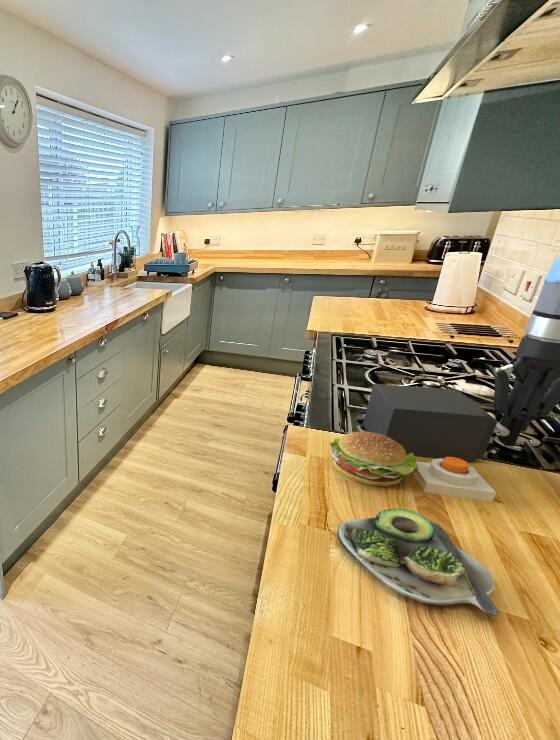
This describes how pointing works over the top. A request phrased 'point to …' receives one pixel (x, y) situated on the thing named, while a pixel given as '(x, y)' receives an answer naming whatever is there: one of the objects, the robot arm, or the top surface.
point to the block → (452, 482)
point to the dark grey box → (427, 420)
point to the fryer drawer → (490, 434)
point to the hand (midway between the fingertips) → (505, 442)
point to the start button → (455, 465)
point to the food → (372, 458)
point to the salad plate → (417, 559)
